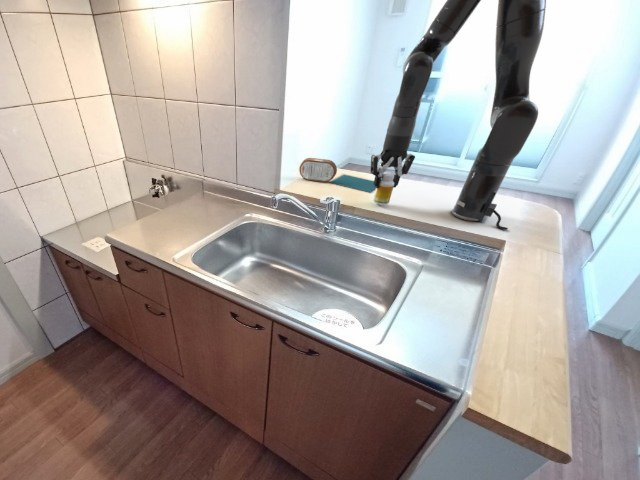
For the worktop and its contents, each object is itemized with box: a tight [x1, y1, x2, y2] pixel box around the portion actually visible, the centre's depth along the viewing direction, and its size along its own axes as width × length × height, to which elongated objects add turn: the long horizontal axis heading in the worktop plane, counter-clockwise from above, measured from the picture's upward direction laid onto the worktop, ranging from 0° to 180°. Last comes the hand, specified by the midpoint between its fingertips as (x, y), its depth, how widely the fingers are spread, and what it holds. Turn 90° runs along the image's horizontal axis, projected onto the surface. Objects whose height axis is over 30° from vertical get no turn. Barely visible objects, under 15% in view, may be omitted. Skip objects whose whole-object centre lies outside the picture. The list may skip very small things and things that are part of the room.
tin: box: [298, 157, 338, 183], centre depth 132 cm, size 15×3×8 cm, turn 66°
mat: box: [329, 174, 376, 193], centre depth 132 cm, size 17×13×1 cm
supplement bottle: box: [372, 172, 395, 206], centre depth 111 cm, size 5×5×10 cm
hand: (385, 186), depth 110 cm, fingers closed on supplement bottle, 5 cm apart
